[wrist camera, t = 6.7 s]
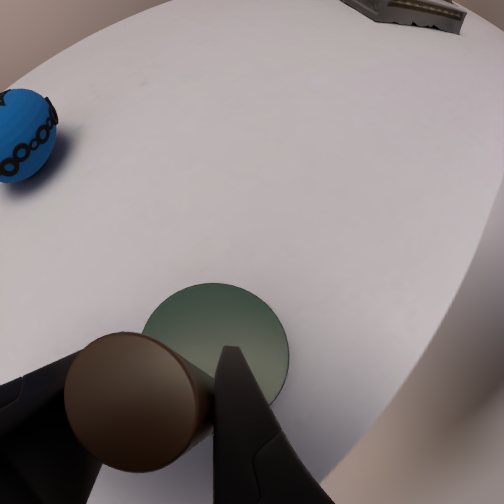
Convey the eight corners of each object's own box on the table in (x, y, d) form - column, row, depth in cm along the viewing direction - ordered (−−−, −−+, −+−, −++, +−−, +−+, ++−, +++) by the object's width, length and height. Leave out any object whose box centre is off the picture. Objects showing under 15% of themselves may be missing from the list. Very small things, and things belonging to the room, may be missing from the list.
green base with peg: (313, 327, 15) (399, 208, 6) (241, 455, 12) (221, 550, 3) (190, 262, 16) (134, 104, 7) (115, 376, 14) (-39, 318, 5)
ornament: (73, 176, 23) (21, 84, 14) (-3, 217, 21) (-66, 146, 12) (70, 121, 26) (35, 43, 17) (4, 157, 25) (-39, 90, 16)
